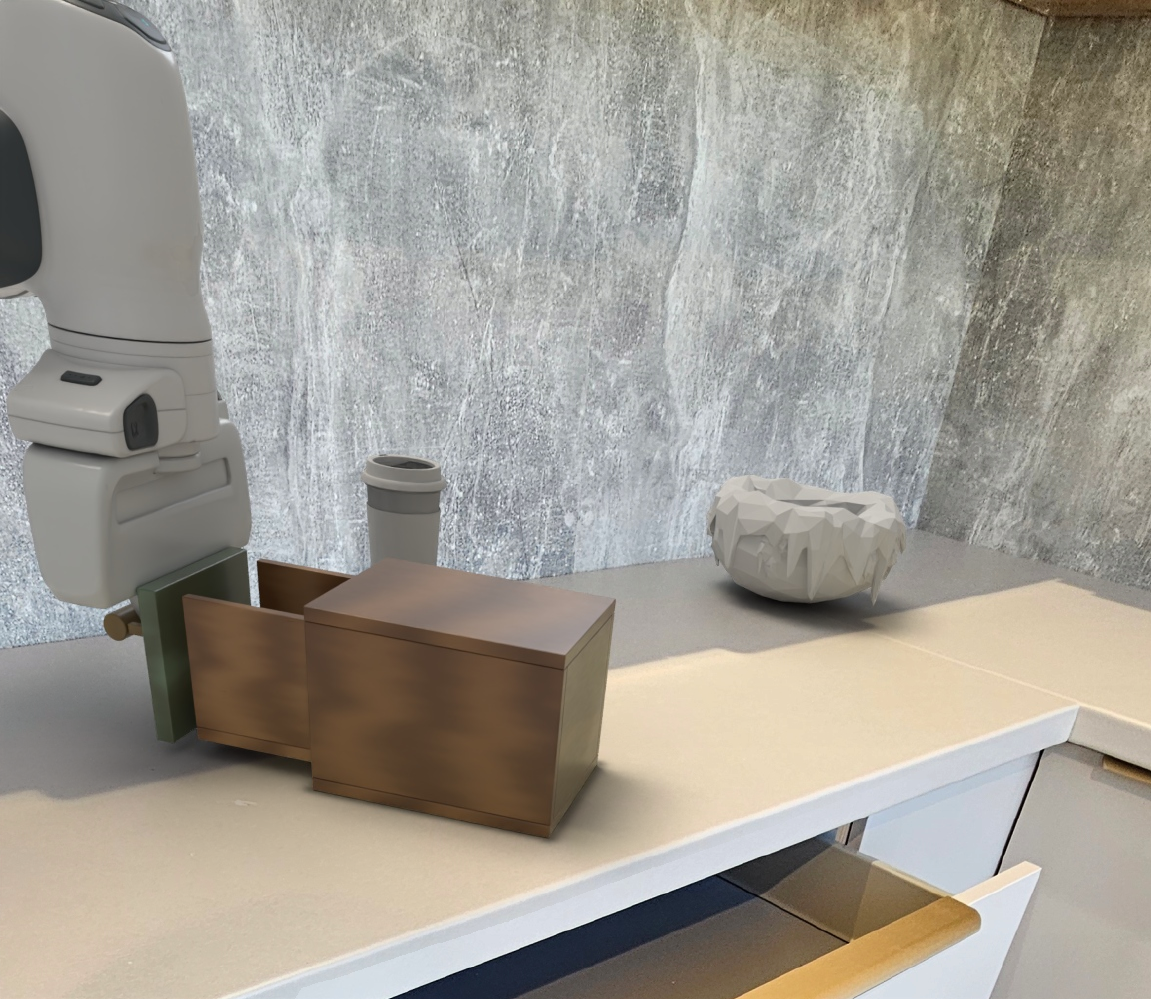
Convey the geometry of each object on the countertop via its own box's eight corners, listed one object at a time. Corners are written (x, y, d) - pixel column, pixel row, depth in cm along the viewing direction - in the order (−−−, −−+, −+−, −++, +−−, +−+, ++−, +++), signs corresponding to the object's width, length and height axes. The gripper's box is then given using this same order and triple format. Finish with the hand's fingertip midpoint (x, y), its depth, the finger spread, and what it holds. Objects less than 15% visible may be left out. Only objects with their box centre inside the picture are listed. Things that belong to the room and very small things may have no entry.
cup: (410, 609, 104) (411, 451, 96) (459, 630, 101) (464, 468, 93) (346, 619, 100) (342, 454, 92) (396, 641, 97) (395, 472, 89)
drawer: (95, 727, 75) (68, 575, 69) (187, 674, 84) (171, 535, 78) (370, 783, 73) (367, 631, 67) (434, 722, 82) (436, 583, 76)
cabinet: (312, 790, 73) (302, 605, 66) (387, 723, 83) (386, 556, 76) (548, 838, 72) (565, 654, 64) (597, 764, 81) (616, 598, 74)
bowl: (679, 605, 115) (697, 487, 108) (706, 562, 130) (724, 455, 123) (886, 642, 113) (917, 524, 106) (889, 593, 128) (917, 487, 121)
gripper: (175, 368, 75) (200, 603, 84) (-16, 403, 60) (39, 684, 69) (266, 384, 74) (281, 619, 84) (96, 423, 59) (136, 704, 69)
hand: (170, 649), depth 76 cm, fingers closed, pressing on drawer
